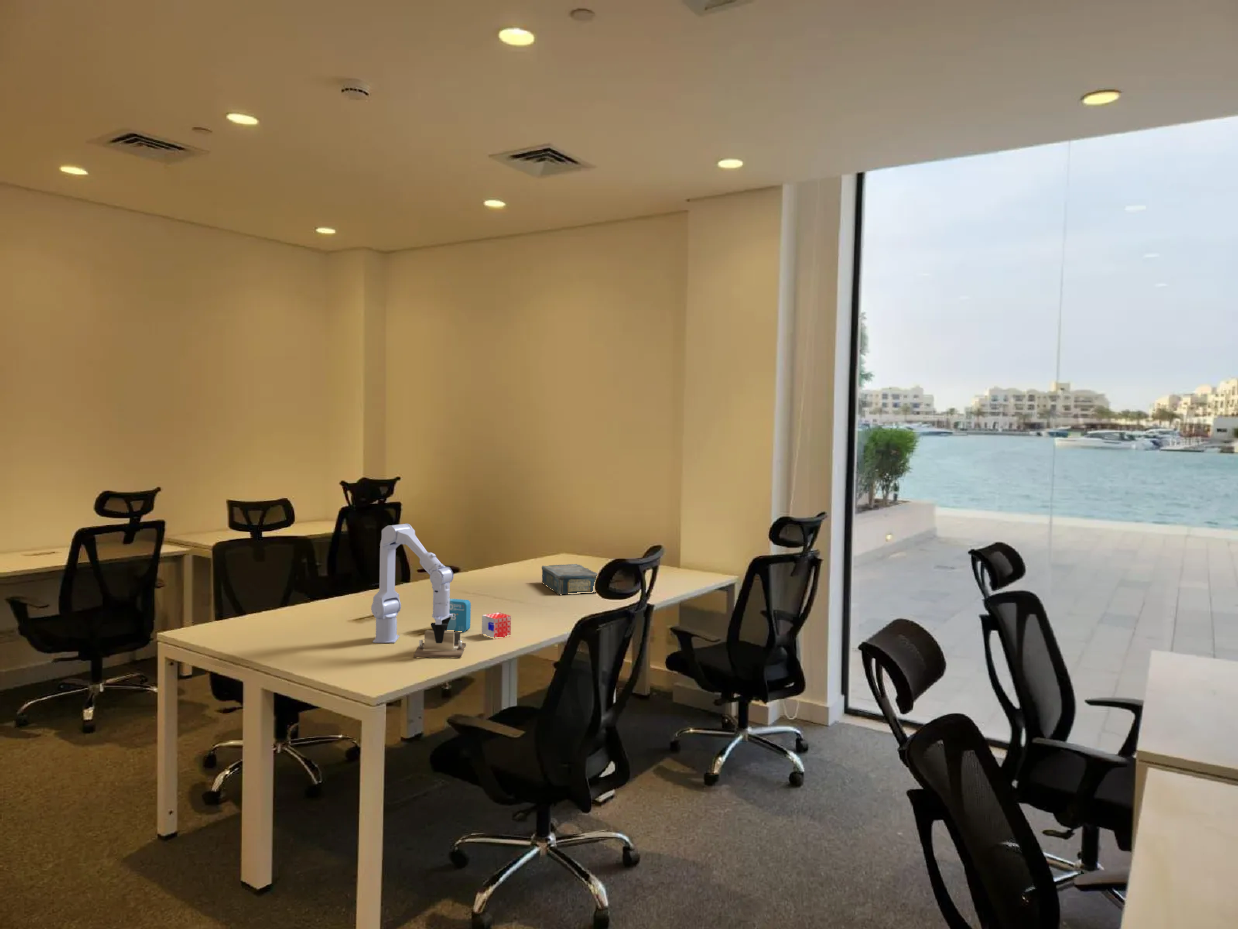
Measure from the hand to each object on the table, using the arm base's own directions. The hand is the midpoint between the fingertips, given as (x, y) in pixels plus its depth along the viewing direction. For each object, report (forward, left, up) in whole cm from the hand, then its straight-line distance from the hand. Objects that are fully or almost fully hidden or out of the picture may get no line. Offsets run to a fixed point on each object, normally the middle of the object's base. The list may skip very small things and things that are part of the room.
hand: (440, 640), depth 288 cm
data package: (-31, +1, -4) cm, 31 cm away
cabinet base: (0, 0, -4) cm, 4 cm away
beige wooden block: (0, 0, -3) cm, 3 cm away
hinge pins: (0, 0, -4) cm, 4 cm away
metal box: (-118, +48, -5) cm, 127 cm away
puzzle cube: (-23, +18, -4) cm, 30 cm away
